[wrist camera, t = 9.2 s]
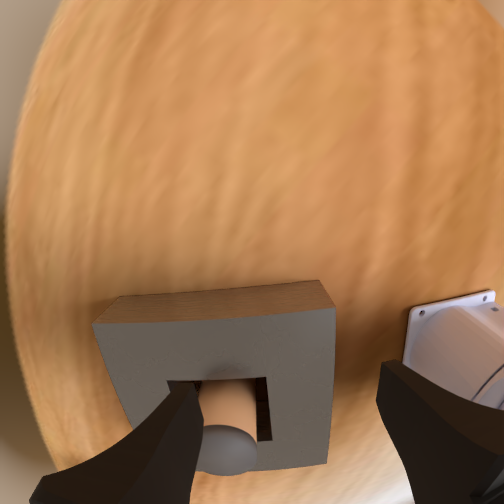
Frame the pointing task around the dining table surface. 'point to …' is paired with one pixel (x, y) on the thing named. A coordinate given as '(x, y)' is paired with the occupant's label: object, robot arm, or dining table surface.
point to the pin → (228, 426)
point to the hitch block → (232, 358)
